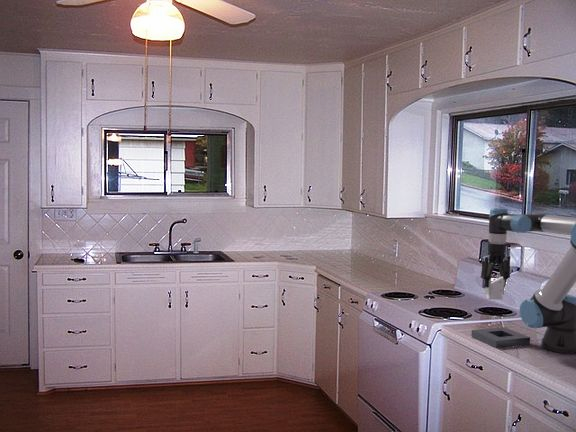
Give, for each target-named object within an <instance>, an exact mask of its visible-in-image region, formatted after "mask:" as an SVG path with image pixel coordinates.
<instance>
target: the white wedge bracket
mask: <svg viewBox="0 0 576 432" xmlns="http://www.w3.org/2000/svg"><path fill="white" fill-rule="evenodd" d="M503 295H504V294H503V277H501V276H500V277H498V278H496V279H494V280H493V281H492V280H491V295H487V294H486V299H488V300H503Z"/></svg>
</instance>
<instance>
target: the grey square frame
mask: <svg viewBox="0 0 576 432" xmlns="http://www.w3.org/2000/svg"><path fill="white" fill-rule="evenodd" d="M471 338H472V339H475V340H477V341H480V342H482V343H484V344H486V345H489V346H491V347H493V348H495V349H497V348H498V349H499V347H500V348H508V347H507V346H509V347H516V345H519V346H525V345H526V346H527V344H528V345H531V337H530V336H527V335H525V334H523V333H520V332H517V331H515V330H513V329H510V328H507V327H505V326H503V327H492V328H481V329H472V330H471Z"/></svg>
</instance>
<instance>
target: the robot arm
mask: <svg viewBox="0 0 576 432" xmlns="http://www.w3.org/2000/svg"><path fill="white" fill-rule="evenodd" d="M488 221H489V222H488V237H487V238H488V239H487V240H488V241H487V242H488V244H487V251H488V253H487V255H484V256H482V257H481V259H482V263H481V273H480V278H481V279H483V280H484V285H483V286H484V289H485V291H484V294H485V295H486V296H487V295H491V282H492V280H491V276H492V273H493V271H494V268H495V266H496V265H497V266H498V272H499V275H500V277H503V294H502V295H505V287H506V285H507V281H508V280H509V279H510V277H511V265H510V264H511V255H507V254H506V253H505V252H506V251H507V250H506V249H507V244H506V243H507V232H513V233H518V234H519V233H521V234H525V233H529V232H539V233H541V232H542V233H550V234H555V235H556V234H557V235H564V236H570V240H569V244H570V248H569V250H567V252H566V253H565V255H564V257H563V258H562V259H561V261H560V263H558V265H557V267H556V268H555V269H554V271H553V273H552V274H551V275H550V276H549V278H548V280H547V282H545V285H543V287H542V288H541V289H537V290H536V291H535V292H534V293H533V295H532V296H531V298H526V299H524V300H523V301H521V303H520V305H519V315H520V316H519V317H520V318H521V321H522V322H523V324H525V326H528V327H529V328H532V329H540V328H546V330H545V332H544V334H543V337H542V338H541V341H540V342H541V344H540V346H541V347H542V348H543V349H546V350H548V351H551V352H554V351H555V353H559V352H560V354H567V353H573V354H576V353H575V352H576V296H575V295H570V294H569V292H570V291H571V289H572V288H573V287H574V285H575V284H576V217H575V216H574V217H573V216H572V217H571V216H562V215H561V216H560V215H553V214H551V215H550V214H546V213H534V214H533V213H531V214H530V213H529V214H527V213H524V214H521V213H519V214H518V213H517V214H515V213H509V210H508V208H505V207H504V208H503V207H492V208H490V209H489V216H488Z"/></svg>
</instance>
